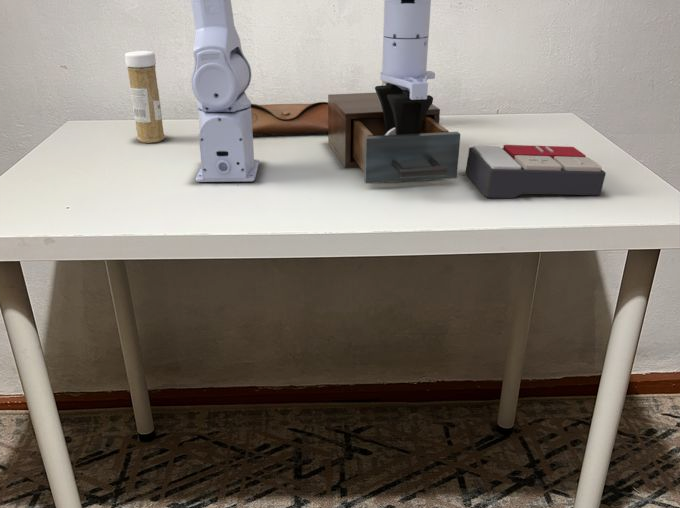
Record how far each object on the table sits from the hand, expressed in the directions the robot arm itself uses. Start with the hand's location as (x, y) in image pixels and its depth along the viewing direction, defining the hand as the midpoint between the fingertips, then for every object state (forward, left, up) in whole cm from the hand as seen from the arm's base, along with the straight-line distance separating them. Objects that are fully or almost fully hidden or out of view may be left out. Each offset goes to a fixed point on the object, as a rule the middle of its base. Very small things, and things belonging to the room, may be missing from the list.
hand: (400, 144), depth 96 cm
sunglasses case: (+26, +17, -4) cm, 31 cm away
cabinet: (+11, +2, -4) cm, 12 cm away
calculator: (-5, -17, -4) cm, 18 cm away
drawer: (-2, 0, -3) cm, 4 cm away
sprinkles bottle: (+20, +39, -4) cm, 44 cm away
